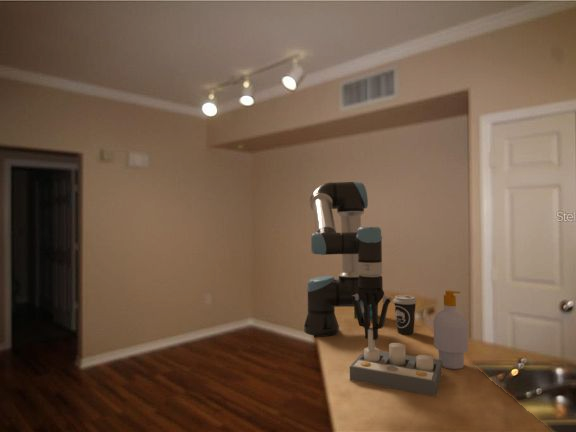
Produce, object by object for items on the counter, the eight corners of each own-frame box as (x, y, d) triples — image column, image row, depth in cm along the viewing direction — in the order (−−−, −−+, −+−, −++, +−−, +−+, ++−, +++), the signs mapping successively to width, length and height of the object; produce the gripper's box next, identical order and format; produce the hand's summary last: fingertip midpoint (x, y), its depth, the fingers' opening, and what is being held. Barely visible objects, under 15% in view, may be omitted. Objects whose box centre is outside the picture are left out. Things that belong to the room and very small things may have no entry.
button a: (362, 370, 117) (362, 351, 117) (366, 364, 121) (366, 346, 121) (377, 372, 115) (377, 353, 115) (381, 367, 119) (381, 348, 119)
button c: (415, 379, 110) (414, 359, 110) (417, 373, 114) (417, 353, 114) (432, 382, 107) (432, 361, 107) (434, 376, 112) (434, 356, 112)
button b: (387, 366, 113) (387, 346, 113) (391, 361, 118) (391, 342, 118) (404, 369, 111) (403, 349, 111) (407, 363, 115) (406, 344, 115)
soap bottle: (466, 374, 114) (464, 295, 114) (431, 367, 119) (429, 292, 120) (470, 363, 123) (468, 289, 123) (437, 357, 128) (435, 287, 128)
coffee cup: (419, 336, 151) (418, 299, 151) (394, 335, 153) (393, 299, 153) (415, 329, 161) (415, 295, 161) (393, 328, 163) (392, 294, 163)
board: (349, 379, 111) (349, 364, 111) (366, 360, 126) (365, 347, 126) (435, 396, 100) (435, 379, 100) (442, 373, 115) (441, 358, 115)
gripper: (346, 275, 118) (348, 349, 118) (388, 277, 112) (389, 356, 112) (354, 272, 125) (355, 343, 124) (393, 274, 119) (395, 348, 118)
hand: (371, 349), depth 118 cm, fingers closed
